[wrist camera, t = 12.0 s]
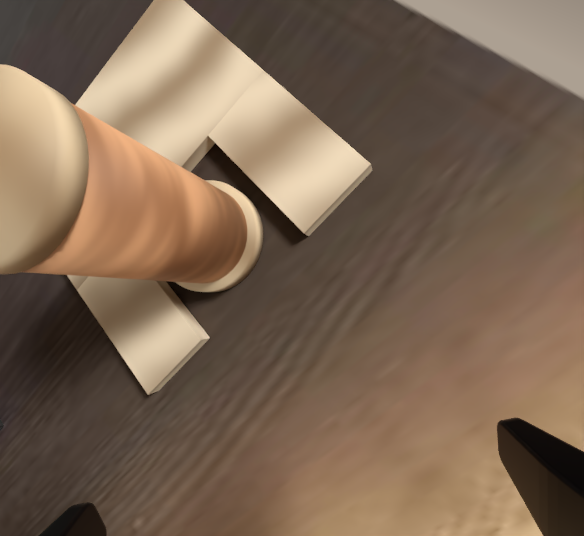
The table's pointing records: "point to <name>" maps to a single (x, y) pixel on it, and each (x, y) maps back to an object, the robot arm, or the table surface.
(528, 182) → the table surface
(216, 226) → the cord reel
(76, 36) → the table surface
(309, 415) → the table surface
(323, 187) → the shelf board
